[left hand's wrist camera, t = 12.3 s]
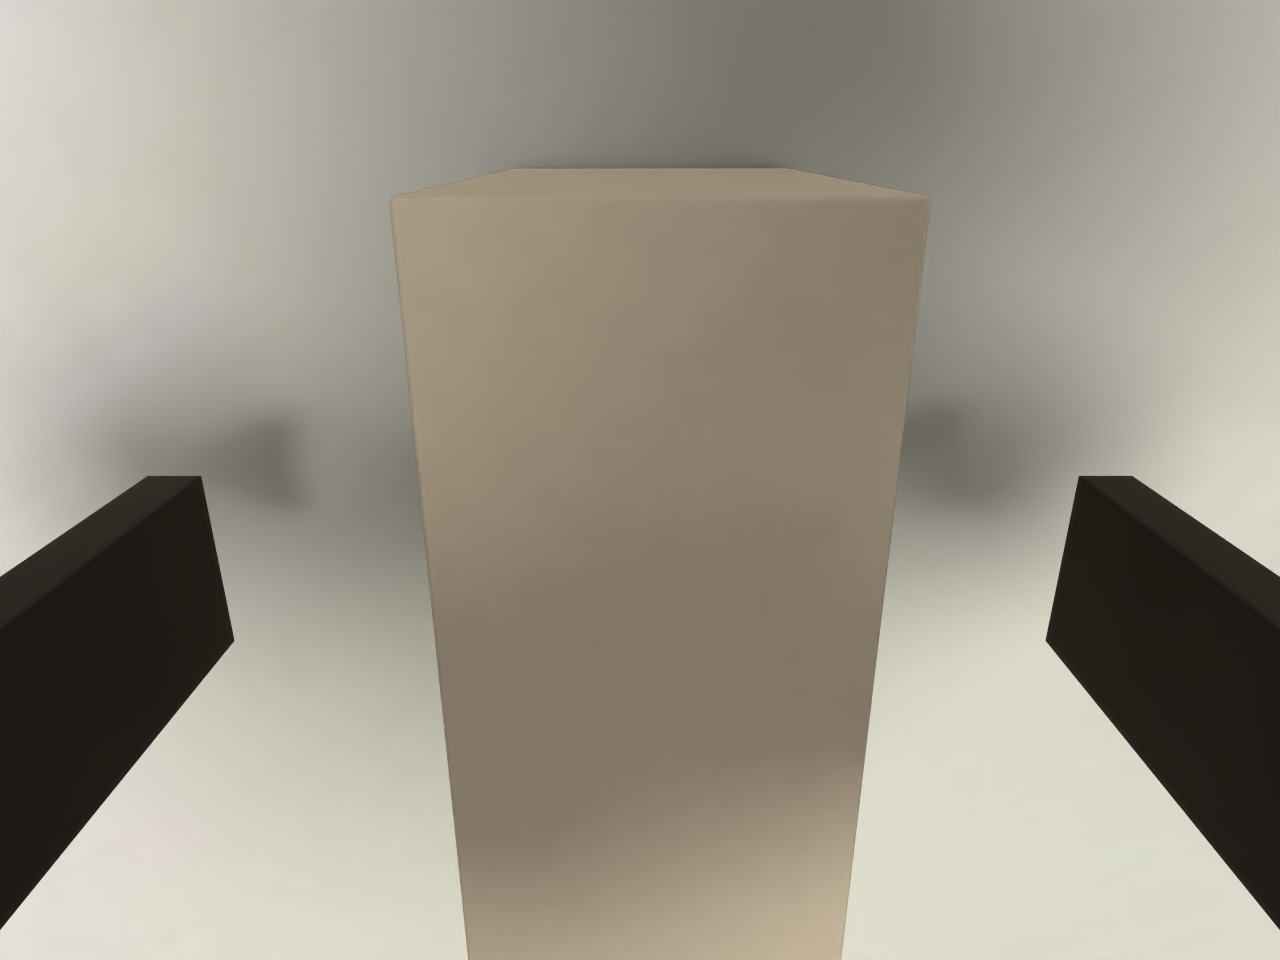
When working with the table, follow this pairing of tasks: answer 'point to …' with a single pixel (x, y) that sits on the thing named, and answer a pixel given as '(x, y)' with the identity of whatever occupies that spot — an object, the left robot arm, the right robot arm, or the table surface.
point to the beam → (657, 542)
